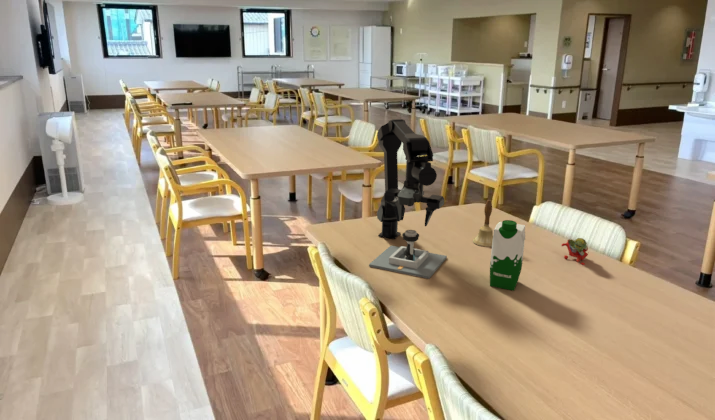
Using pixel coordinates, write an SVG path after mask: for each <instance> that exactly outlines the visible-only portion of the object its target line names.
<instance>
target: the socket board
mask: <svg viewBox="0 0 715 420" xmlns="http://www.w3.org/2000/svg"><path fill="white" fill-rule="evenodd" d="M406 248H407V246H403V245H401V246H395V245H389V246H388V247H387V248H386V249H385V250H384V251H382V252H381V253H380V254H379V255H378V256H377V257H376V258H374V259H373V260H372V261H371V262H370V263H369V264H368V267H369V268H370V267H371V268H374V269H379V270H385V271H389V272H394V273H399V274H403V275H409V276H413V277H414V276H415V277H419V278H424V279H430V278H432V276H433V275H434V274H435V272H437V270H438V269H439V268H440V267H441V266H442V264H443V263H444V262H445V260H446V259H448V258H447V257H448V255H444V254H440V253H439V254H438V253H433V252H429V250H426V249H419V248H416V247H414V250H415V261H411V260H406V259H405V256H404V251H405V250H406Z"/></svg>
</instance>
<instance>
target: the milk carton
mask: <svg viewBox="0 0 715 420" xmlns="http://www.w3.org/2000/svg"><path fill="white" fill-rule="evenodd" d="M525 240H526V225H525V224H520V223H518V222H517V221H515V220H511V219H509V220H508V219H505V220H502V221H499V222H498V223H497V224H496V225H495V227H494V229H493V241H492V247H491V251H490V252H491V253H490V264H489V286H490V287H493V288H497V289H504V290H509V291H515V290H516V287H517V284H518V282H519V279H520V275H521V272H522V267H523V260H524V251H525V250H524V249H525V242H526V241H525Z"/></svg>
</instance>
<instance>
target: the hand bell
mask: <svg viewBox="0 0 715 420" xmlns="http://www.w3.org/2000/svg"><path fill="white" fill-rule="evenodd" d="M483 212H484V223H483V224H484V225H483V226H481V227H479V229H478V230H479V231H478V233H477V236H476V237H475V238H473V240H472V243H473V244H474V245H477V246H479V247H484V248H485V247H486V248H488V247H489V248H492V241H493V234H494V229H493V228H492V227H490V219H491V214H492V212H493V203H492V200H491V199H487V200H486V203H485V205H484V211H483Z"/></svg>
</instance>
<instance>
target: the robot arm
mask: <svg viewBox="0 0 715 420" xmlns="http://www.w3.org/2000/svg"><path fill="white" fill-rule="evenodd" d="M376 134H377V135H376V136H377V140H378V145H379V146H378V147H380V149H381V150H382V152H383V163H384V192H383V196H382V197H381V200H380V206H379V208H378V209H377V211H376V217H377V218H376V219H377V220H378V221H380V222H381V232H380V233H378V237H380V238H386V239H392V240H395V239H396V238H397V237H399V236H400V235H402V234H401V233H402V232H399V231H398V230H399V229H398V227H399V226H398V225H399V222H401V221H404V217H405V214H406V213H405V211H406V207H405V206H408V207H413V206H414V205H415V203H424V204H426V207H425V219H424V227H428V224H429V222H430V220H431V217H432V216H433V214H434V211H436V210H439V209H441V208H442V207H443V206H444V205H445V198H444V196H443V195H440V194H439V195H437V194H432V195H430V196H429V197H428V196H424V195H425V191H424V187H425V186H426V187H428V186H431V185H433V184H434V183H435V181H436V180H437V176H438V174H437V171H436V170H435V169H434V168H433V167H432V163H431V162H433V161H434V159H433V158H434V153H433V149H432V147H431V144H430V141H429V139H428V138H427V137H426V136H425V135H422V134H418V133H415V132H414V131H413V130H412V128H411V127H410V126H409V125H408V124H407V122H406V119H403V118H396V119H395V118H392V119H390V120H389V121H388V122H387V123H386V124H383V125H381V126H380V128H378V130H377V133H376ZM402 144H403V145H402ZM401 147H402V150H403V154H404V156H405V160H406V164H405V165H406V166H405V180H404V181H403V187H402V188H400V189H399V175H398V174H399V173H398V171H399V168H398V164H399V163H398V152H399V150H400V148H401Z"/></svg>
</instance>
